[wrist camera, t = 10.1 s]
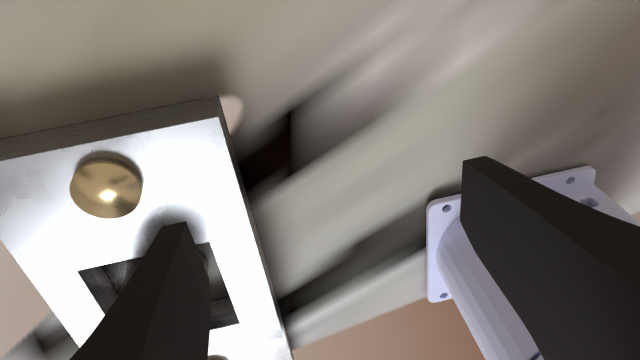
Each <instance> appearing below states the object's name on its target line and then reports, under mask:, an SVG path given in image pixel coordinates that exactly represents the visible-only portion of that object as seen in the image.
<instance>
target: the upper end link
mask: <svg viewBox="0 0 640 360" xmlns="http://www.w3.org/2000/svg"><path fill="white" fill-rule="evenodd" d="M184 221H186V222H187V225H188V227H189V230H190V232H191V235H192V237H193V240H194V242H195V245H196V244H201V243H205V242H210V245H211V248H212V250H213V253H214V256H215V258H216V261H217V264H218V266H219V269H220V272H221V274H222V277H223V280H224V282H225V285H226V288H227V290H228V293H229V296H230V298H231V301H232V304H233V306H234V309H235V310H232V311H228V312H224V313H219V314H215V315H211V321H210V336H209V351H208V355H213V354H217V353H221V352H225V351H229V350H234V349H238V348H242V347H246V346H250V345H255V344H259V343H263V342H267V341H271V340H276V339H280V338H284V337H283V330H282V323H281V319H280V316H279V312H278V309H277V306H276V302H275V299H274V295H273V292H272V288H271V285H270V281H269V278H268V275H267V271H266V268H265V264H264V261H263V257H262V254H261V251H260V247H259V244H258V240H257V237H256V233H255V230H254V226H253V223H252V220H251V216H250V213H249V209H248V206H247V202H246V199H245V196H244V192H243V189H242V185H241V173H240V169H239V166H238V162H237V159H236V155H235V152H234V148H233V145H232V141H231V138H230V134H229V131H228V128H227V124H226V120H225V117H224V113H223V110H222V106H221V103H220V99H219V96H214V97H209V98H204V99H199V100H194V101H189V102H184V103H179V104H174V105H169V106H164V107H159V108H154V109H150V110H145V111H140V112H135V113H130V114H125V115H120V116H115V117H110V118H105V119H100V120H95V121H90V122H85V123H80V124H75V125H70V126H65V127H60V128H55V129H50V130H45V131H40V132H35V133H30V134H25V135H20V136H15V137H10V138H5V139H0V239H1V240H2V242H3V243H4V244H5V246H6V247H7V248H8V250H9V251H10V252H11V254H12V255H13V257H14V258H15V259H16V261H17V262H18V264H19V265H20V266H21V268H22V269H23V270H24V272H25V273H26V274H27V276H28V277H29V279H30V280H31V281H32V283H33V284H34V285H35V287H36V288H37V290H38V291H39V292H40V294H41V295H42V296H43V298H44V299H45V300H46V302H47V303H48V304H49V306H50V307H51V309H52V310H53V311H54V313H55V314H56V316H57V317H58V318H59V320H60V321H61V322H62V324H63V325H64V326H65V328H66V329H67V331H68V332H69V333H70V335H71V336H72V337H73V339H74V340H75V342H76V343H77V344H78V346H79V347H81V346H82V345H83V343H84V342H85V341H86V340H87V338H88V337H89V336H90V335H91V333H92V332H93V331H94V329H95V328H96V327H97V325H98V324H99V323H100V321H101V320H102V318H103V317H104V316H105V314H106V313H107V311H108V310H109V309H110V307H111V306H112V304H111V302H110V301H109V299H108V297H107V296H106V294H105V293H104V291H103V289H102V288H101V286H100V284H99V283H98V281H97V279H96V278H95V276H94V274H93V273H92V271H91V270H90V268H92V267H97V266H101V265H106V264H110V263H115V262H119V261H124V260H129V259H133V258H138V257H142V256H144V254H145V253H146V251H147V249H148V248H149V246H150V244H151V243H152V241H153V239H154V238H155V236H156V234H157V233H158V231H159V230H160V228H161V227H162V226H166V225H171V224H175V223H180V222H184Z"/></svg>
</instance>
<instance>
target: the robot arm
mask: <svg viewBox="0 0 640 360" xmlns="http://www.w3.org/2000/svg"><path fill="white" fill-rule="evenodd" d="M595 176H596V171H595V170H594V169H593V168H592V167H590V166H583V167H579V168H574V169H570V170H565V171H561V172H556V173H552V174H547V175H543V176H538V177H534V178H529V177H527V176H525V175H523V174H521V173H519V172H517V171H515V170H513V169H511V168H509V167H507V166H505V165H503V164H501V163H499V162H497V161H495V160H493V159H491V158H489V157H487V156H483V157H478V158H474V159H469V160H464V161H463V169H462V187H461V194H457V195H453V196H448V197H444V198H439V199H435V200H433V201H431V202H430V203H429V204H428V205H427V208H426V295H427V298H428V300H429V301H430V302H439V301H443V300H447V299H451V298H453V299H454V301H455V303H456V305H457V307H458V309H459V310H460V312H461V314H462V316H463V318H464V320H465V322H466V323H467V325H468V327H469V329H470V331H471V333H472V335H473V337H474V338H475V340H476V342H477V344H478V346H479V348H480V350H481V352H482V353H483V355H484V357H485V359H486V360H640V223H639V222H638V221H637V220H635V219H634V218H633V217H632V216H631V215H630V214H629V213H627V212H626V211H625V210H624V209H623V208H622V207H620V206H619V205H618V204H617V203H616V202H615V201H613V200H612V199H611V198H610V197H609V196H607V195H606V194H605V193H604V192H603V191H602V190H600V189H599V188H598V187H597V186H596V185H595V184H594V180H595ZM568 178H569V179H568ZM567 179H568V180H567ZM445 205H448V206H447V207H445V208H443V207H444V206H445ZM210 321H211V306H210V289H209V277H208V275H207V272H206V270H205V267H204V265H203V262H202V260H201V257H200V255H199V252H198V250H197V247H196V245H195V242H194V240H193V237H192V235H191V232H190V230H189V227H188V225H187V222H186V221H184V222H180V223H175V224H171V225H166V226H162V227H161V228H160V230H159V231H158V233H157V234H156V236H155V238H154V239H153V241H152V243H151V244H150V246H149V248H148V249H147V251H146V253H145V254H144V256H143V258H142V259H141V261H140V263H139V264H138V266H137V268H136V269H135V271H134V272H133V274H132V275H131V277H130V279H129V280H128V282H127V283H126V285H125V286H124V288H123V290H122V291H121V293H120V294H119V296H118V297H117V299H116V300H115V301H114V303H113V304H112V306H111V307H110V309H109V310H108V311H107V313H106V314H105V316H104V317H103V318H102V320H101V321H100V323H99V324H98V325H97V327H96V328H95V329H94V331H93V332H92V333H91V335H90V336H89V337H88V338H87V340H86V341H85V342H84V343H83V345H82V346H81V347H80V348H79V349H78V351H77V352H76V353H75V354H74V355H73V356H72V358H71V359H70V360H208V351H209V336H210Z"/></svg>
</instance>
